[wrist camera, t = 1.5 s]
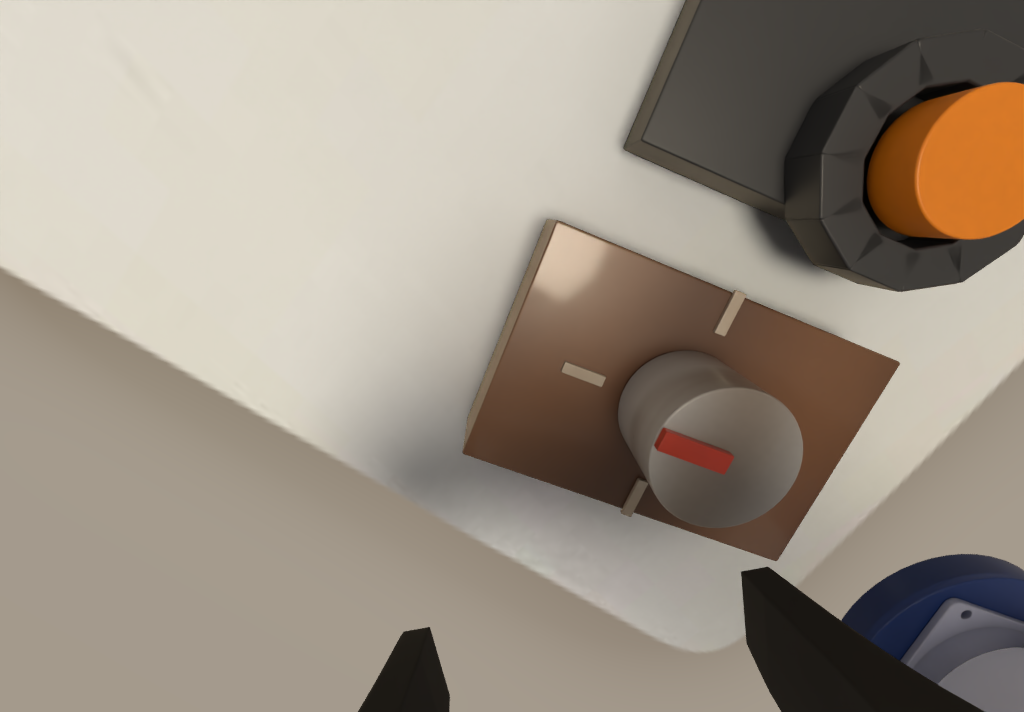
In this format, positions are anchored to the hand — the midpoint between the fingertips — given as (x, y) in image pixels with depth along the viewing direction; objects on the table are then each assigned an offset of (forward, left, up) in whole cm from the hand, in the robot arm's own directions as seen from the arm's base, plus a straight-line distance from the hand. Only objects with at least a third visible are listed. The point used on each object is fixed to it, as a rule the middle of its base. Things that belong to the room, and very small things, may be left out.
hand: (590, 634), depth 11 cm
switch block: (-3, -15, -9) cm, 18 cm away
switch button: (-5, -13, -5) cm, 15 cm away
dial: (-2, -4, -6) cm, 8 cm away
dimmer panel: (-2, -4, -9) cm, 10 cm away
